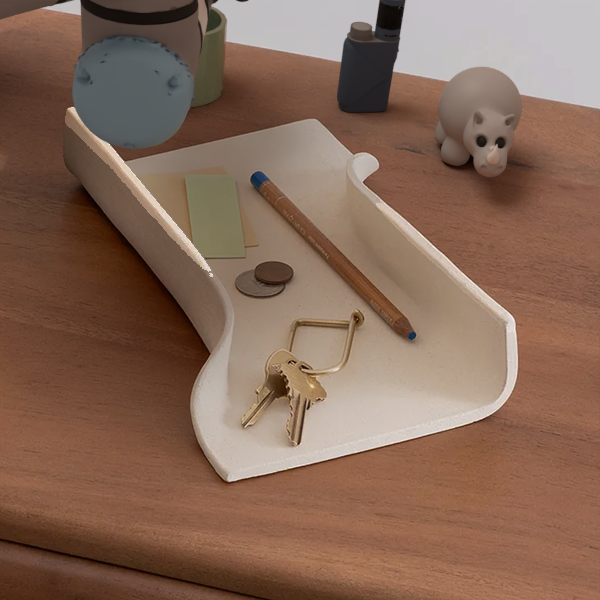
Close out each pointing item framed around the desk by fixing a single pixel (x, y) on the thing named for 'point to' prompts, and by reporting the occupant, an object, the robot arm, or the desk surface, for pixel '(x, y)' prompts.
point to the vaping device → (370, 60)
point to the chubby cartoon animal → (478, 119)
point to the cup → (211, 60)
